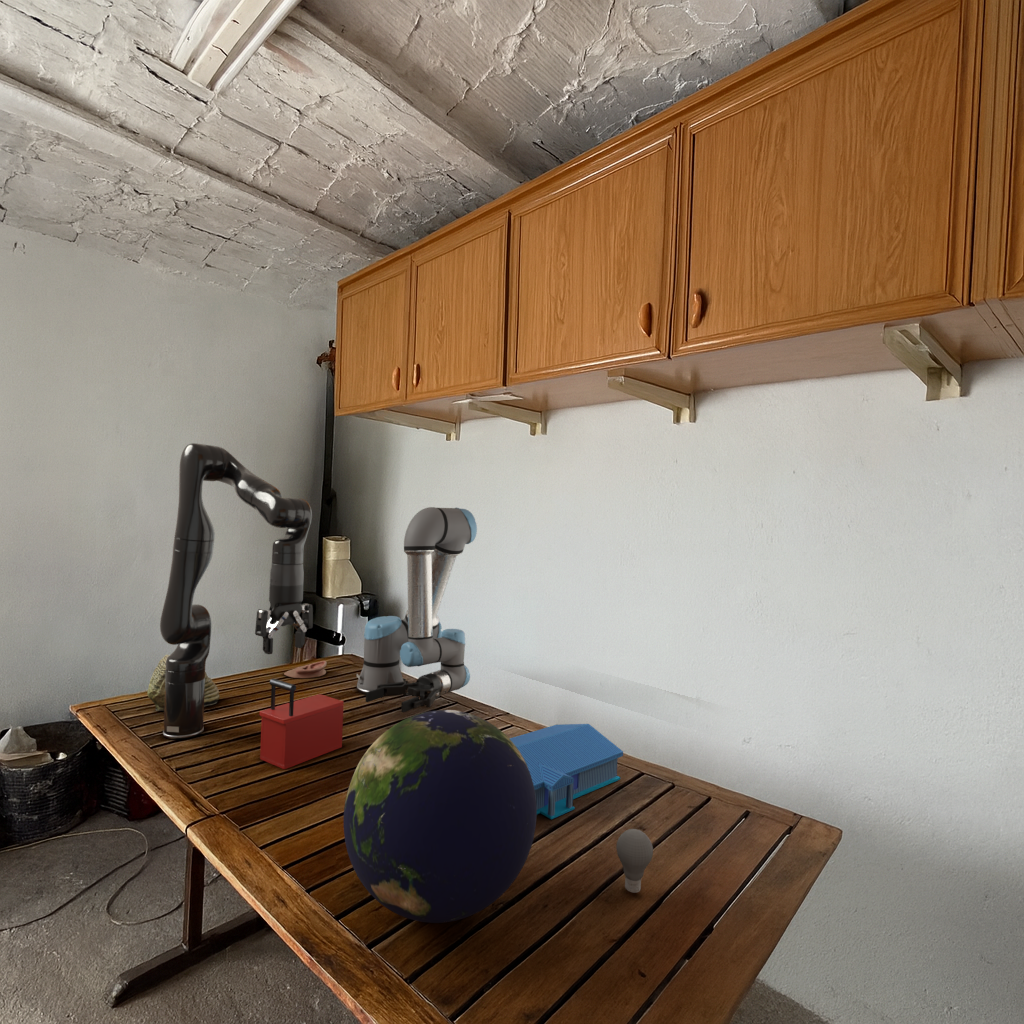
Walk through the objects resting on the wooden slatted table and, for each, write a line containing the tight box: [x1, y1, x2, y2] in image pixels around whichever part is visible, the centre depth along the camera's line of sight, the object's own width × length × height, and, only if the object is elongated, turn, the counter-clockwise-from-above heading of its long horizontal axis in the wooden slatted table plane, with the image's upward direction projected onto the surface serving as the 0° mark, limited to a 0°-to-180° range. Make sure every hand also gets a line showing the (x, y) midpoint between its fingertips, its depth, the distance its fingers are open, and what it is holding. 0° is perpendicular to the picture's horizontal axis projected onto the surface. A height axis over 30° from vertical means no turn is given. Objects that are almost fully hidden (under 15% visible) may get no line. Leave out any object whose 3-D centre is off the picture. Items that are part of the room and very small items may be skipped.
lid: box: [259, 678, 344, 724], centre depth 155 cm, size 18×9×8 cm, turn 146°
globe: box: [343, 709, 538, 924], centre depth 100 cm, size 30×30×30 cm
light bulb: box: [615, 828, 654, 894], centre depth 106 cm, size 6×6×10 cm
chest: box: [259, 705, 344, 770], centre depth 156 cm, size 17×9×11 cm, turn 147°
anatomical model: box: [283, 660, 327, 679], centre depth 222 cm, size 13×4×12 cm
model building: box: [509, 723, 624, 820], centre depth 142 cm, size 39×24×10 cm, turn 132°
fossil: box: [147, 654, 221, 712], centre depth 185 cm, size 9×18×15 cm, turn 132°
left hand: (284, 650), depth 150 cm, fingers open, 8 cm apart
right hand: (384, 702), depth 177 cm, fingers open, 13 cm apart
